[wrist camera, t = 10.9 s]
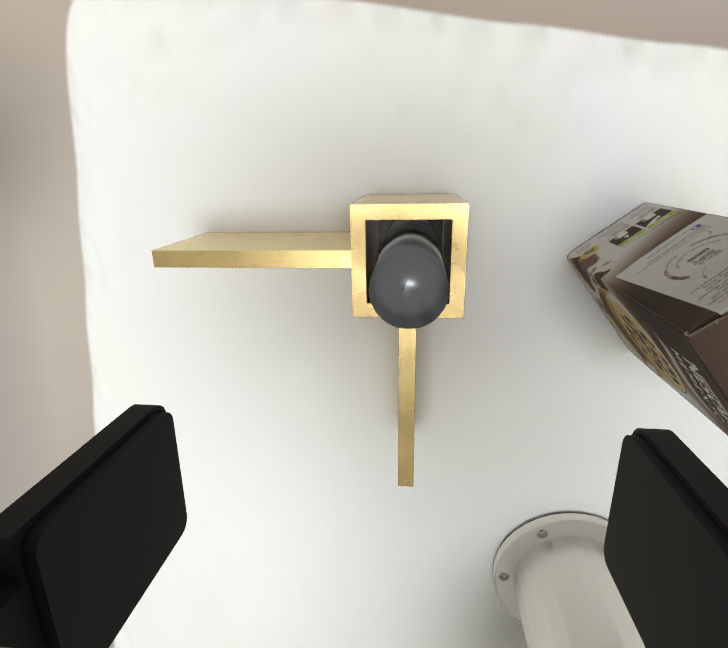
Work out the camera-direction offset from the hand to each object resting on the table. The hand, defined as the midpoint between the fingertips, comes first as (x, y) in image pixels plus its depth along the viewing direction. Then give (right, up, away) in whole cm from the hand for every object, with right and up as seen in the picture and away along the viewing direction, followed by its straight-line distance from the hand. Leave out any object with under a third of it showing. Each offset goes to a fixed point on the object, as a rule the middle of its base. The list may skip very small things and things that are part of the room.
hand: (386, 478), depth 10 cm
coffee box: (+19, +6, +24) cm, 31 cm away
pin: (+3, +9, +24) cm, 26 cm away
